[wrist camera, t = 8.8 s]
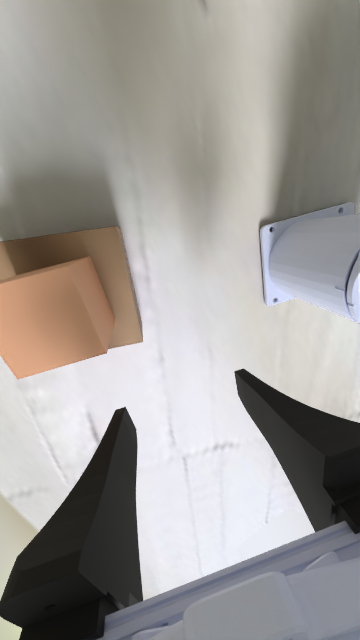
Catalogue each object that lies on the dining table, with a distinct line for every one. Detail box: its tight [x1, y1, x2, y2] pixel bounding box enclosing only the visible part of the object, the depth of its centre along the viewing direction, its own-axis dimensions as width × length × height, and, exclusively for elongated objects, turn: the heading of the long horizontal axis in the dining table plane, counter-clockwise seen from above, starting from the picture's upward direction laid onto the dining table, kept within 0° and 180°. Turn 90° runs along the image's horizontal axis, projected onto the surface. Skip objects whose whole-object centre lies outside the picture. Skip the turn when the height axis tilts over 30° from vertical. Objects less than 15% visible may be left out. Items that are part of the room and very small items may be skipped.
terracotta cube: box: [0, 256, 115, 379], centre depth 13 cm, size 5×5×5 cm
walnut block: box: [0, 226, 143, 349], centre depth 17 cm, size 9×9×4 cm
